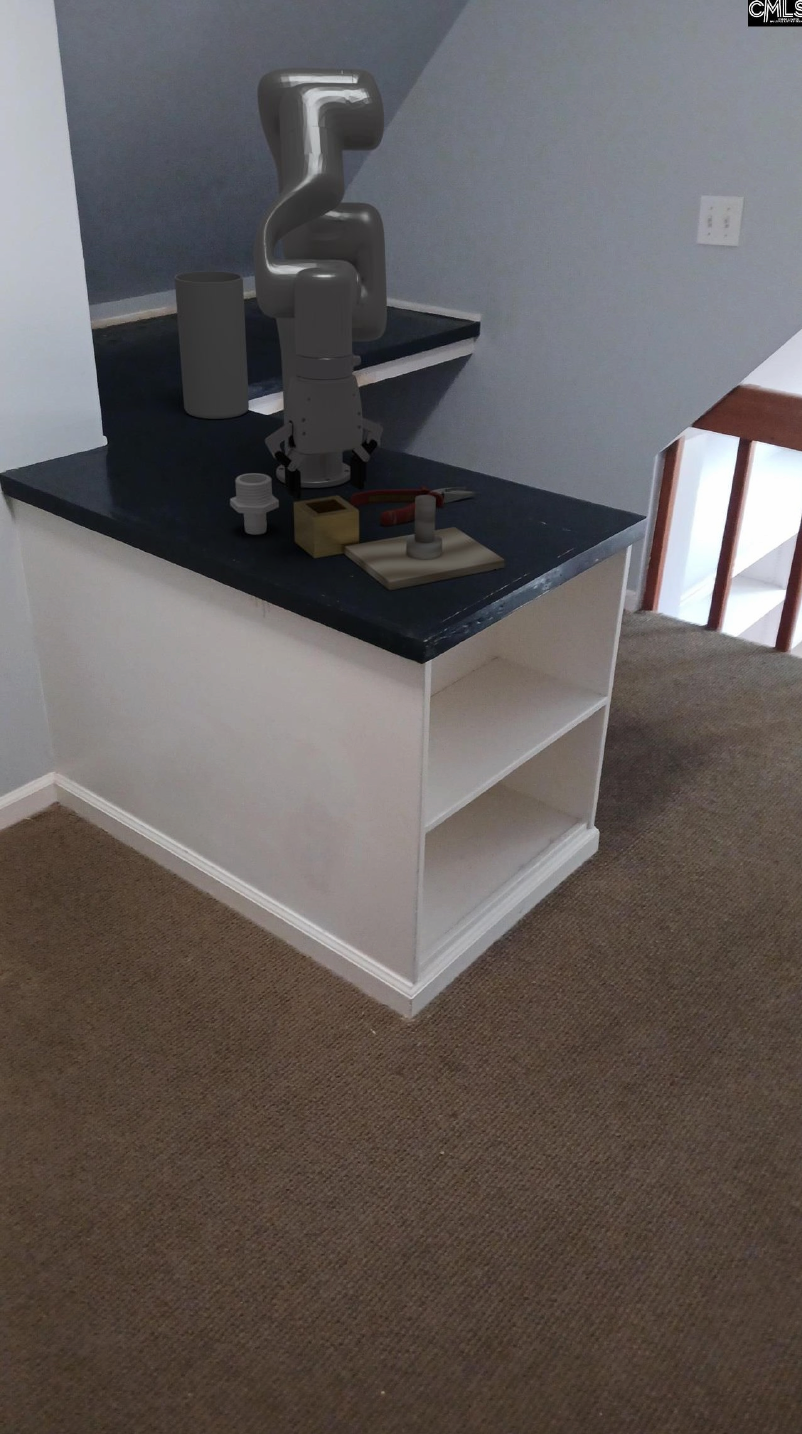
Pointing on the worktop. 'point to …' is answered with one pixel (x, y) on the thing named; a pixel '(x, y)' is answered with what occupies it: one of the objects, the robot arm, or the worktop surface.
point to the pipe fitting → (254, 501)
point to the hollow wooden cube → (325, 525)
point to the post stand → (423, 553)
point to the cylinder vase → (212, 343)
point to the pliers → (406, 501)
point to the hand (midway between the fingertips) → (326, 491)
